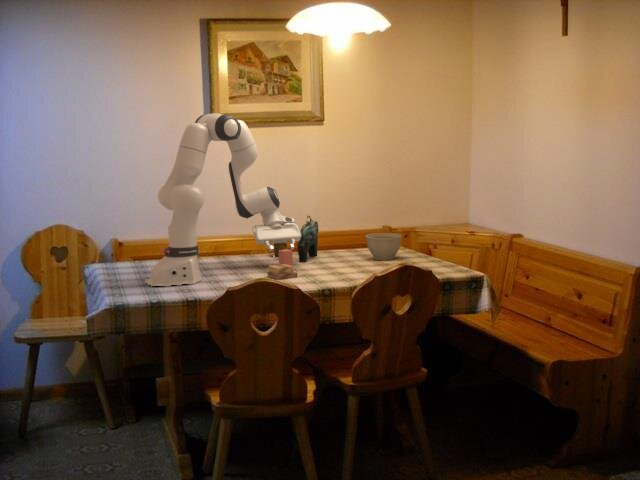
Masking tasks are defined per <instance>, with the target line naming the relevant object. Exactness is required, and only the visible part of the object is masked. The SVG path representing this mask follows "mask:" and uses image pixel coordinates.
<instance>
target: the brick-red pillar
mask: <svg viewBox="0 0 640 480" xmlns="http://www.w3.org/2000/svg"><path fill="white" fill-rule="evenodd" d="M293 251H294V250H293V249H289V248H287V249H286V250H279V258H278V265H280V264H286V265H290V266H293V267H294V256H293V254H294V252H293Z"/></svg>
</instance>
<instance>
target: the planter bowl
mask: <svg viewBox="0 0 640 480" xmlns="http://www.w3.org/2000/svg"><path fill="white" fill-rule="evenodd" d="M365 239H366V244H367V245H366V246H367V249H368V250H369V253H370V254H371V255H372V257H373V259H374V260H376V261H377V260H378V261H391V260H394V259H395V258H396V257H395V256H396V255H397V254H398V252H399V250H400V247H401V244H402V242H401V241H402V234H400V233H395V232H394V233H393V232H378V233H377V232H376V233H369V234H366V235H365Z"/></svg>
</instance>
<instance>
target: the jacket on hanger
mask: <svg viewBox="0 0 640 480" xmlns="http://www.w3.org/2000/svg"><path fill="white" fill-rule="evenodd" d="M311 217H312V216H310V215H307V216H306V219H307V220H308V219H309V220H308V221H307V220H306V221H305V223H304V224H303V225H302V226H301V228H300V229H299V230H300V232H301V239H300V240H299V241H297V252H298V253H297V254H298V261H299V263H307V262H308V257H309V258H317V257H318V244H319V242H318V241H319V239H318V238H319V235H318V234H319V224H318V221H317V220H313V219H312V218H311Z"/></svg>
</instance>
